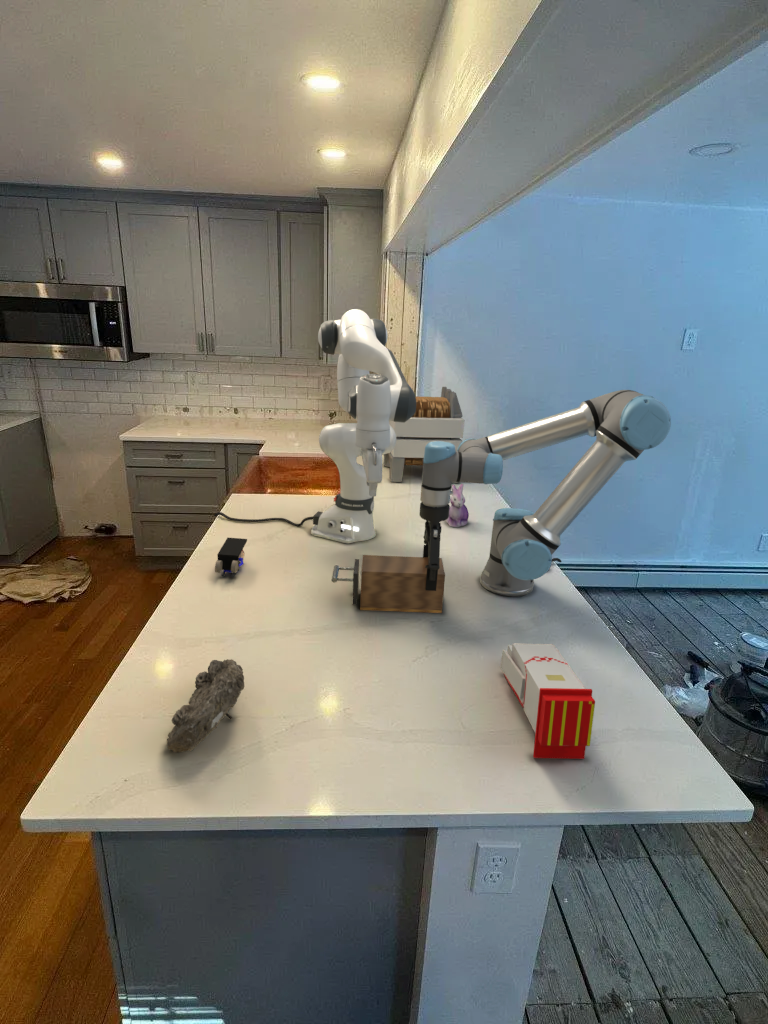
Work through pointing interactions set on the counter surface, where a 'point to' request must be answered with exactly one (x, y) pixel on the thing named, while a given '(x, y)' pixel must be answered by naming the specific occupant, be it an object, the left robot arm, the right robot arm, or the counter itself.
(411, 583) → the cabinet
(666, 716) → the counter surface
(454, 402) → the transformer
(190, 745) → the fossil
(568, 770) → the counter surface
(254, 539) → the counter surface
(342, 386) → the left robot arm
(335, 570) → the drawer
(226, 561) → the black wheeled block
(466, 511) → the figurine
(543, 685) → the toy
